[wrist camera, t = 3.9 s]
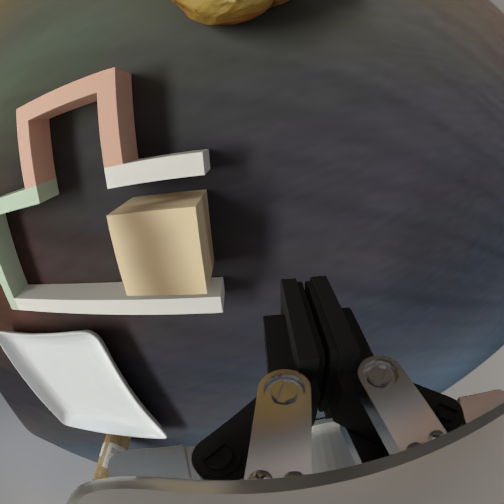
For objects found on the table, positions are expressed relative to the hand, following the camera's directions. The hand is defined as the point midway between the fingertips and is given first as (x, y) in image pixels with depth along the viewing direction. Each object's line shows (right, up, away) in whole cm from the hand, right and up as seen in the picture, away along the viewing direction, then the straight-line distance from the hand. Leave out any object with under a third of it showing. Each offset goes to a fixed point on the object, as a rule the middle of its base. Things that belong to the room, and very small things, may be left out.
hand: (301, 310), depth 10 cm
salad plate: (-26, -15, +20) cm, 36 cm away
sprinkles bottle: (-25, -29, +26) cm, 46 cm away
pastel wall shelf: (-17, +7, +10) cm, 21 cm away
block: (-8, +4, +11) cm, 15 cm away
